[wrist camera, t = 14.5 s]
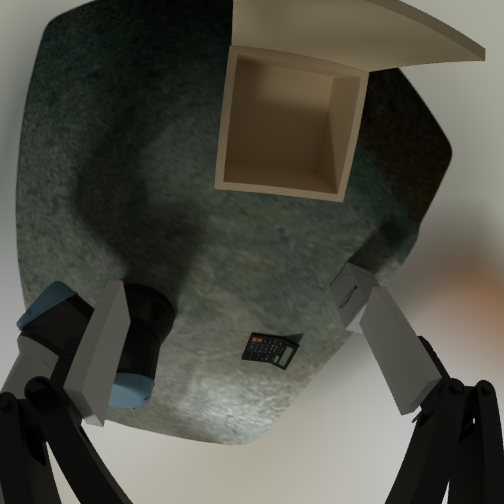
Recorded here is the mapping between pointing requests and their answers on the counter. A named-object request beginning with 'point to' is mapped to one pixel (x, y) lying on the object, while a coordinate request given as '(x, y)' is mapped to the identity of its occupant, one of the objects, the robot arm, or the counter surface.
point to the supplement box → (352, 294)
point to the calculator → (270, 350)
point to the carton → (288, 124)
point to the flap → (351, 32)
